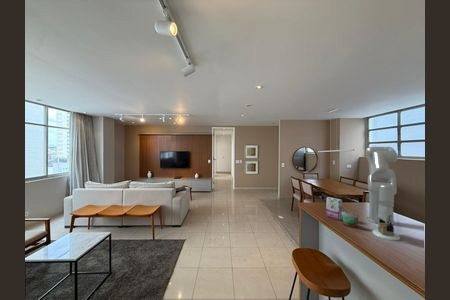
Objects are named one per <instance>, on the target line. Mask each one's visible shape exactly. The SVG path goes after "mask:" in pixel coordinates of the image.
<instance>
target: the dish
mask: <svg viewBox="0 0 450 300" xmlns="http://www.w3.org/2000/svg"><path fill="white" fill-rule="evenodd" d="M372 235H374V236H375V237H377V238H380V239H381V240H386V241H393V242H394V241H395V242H397V241H400V240H401V237H400V235H399V234H398V233H395V232H394V236H387V235H382V234H381V233H380V232H379V231H378V228H376V229H373V230H372Z"/></svg>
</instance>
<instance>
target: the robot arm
mask: <svg viewBox="0 0 450 300" xmlns="http://www.w3.org/2000/svg"><path fill="white" fill-rule="evenodd" d="M365 157H366V159H367V162H368V167H369V168H368V169H369V171H368V172H369V174H368V176H367V190H368V196H369V198H368V201H369V202H368V203H369V205H368V208H369V209H368V217H366V220H367V221H369V222H370V223H374V224H378V223H387V231H388V232H393V227H394V225H395V220H394V219H395V218H394V215H395V214H394V207H395V205H394V203H395V200H394V199H395V197H394V196H395V195H397V192H398V191H397V190H398V189H397V179H396V178H397V177H396V173H395V171H394V170H393V169H391V168H389V163H395V162H397V160H398V153H397V151H396V150H395V149H394V148H393V147H391V146H370V147H367V148H366V149H365Z"/></svg>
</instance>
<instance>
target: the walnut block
mask: <svg viewBox="0 0 450 300" xmlns="http://www.w3.org/2000/svg"><path fill="white" fill-rule="evenodd" d="M377 224H378V226H377V227H378V228H377V229H378V231H379V232H380V233H381V234H382V235H387V236H394V233H395V227H394V226H393V232H388V231H387V223H377Z"/></svg>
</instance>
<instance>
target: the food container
mask: <svg viewBox="0 0 450 300" xmlns="http://www.w3.org/2000/svg"><path fill="white" fill-rule="evenodd" d="M344 210H345V209H342V213H341V214H342V225H344V226H345V227H347V228H352V229H355V228H358V221H359V218H360V216H359V214H355V213H353V212H348V211H344Z"/></svg>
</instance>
